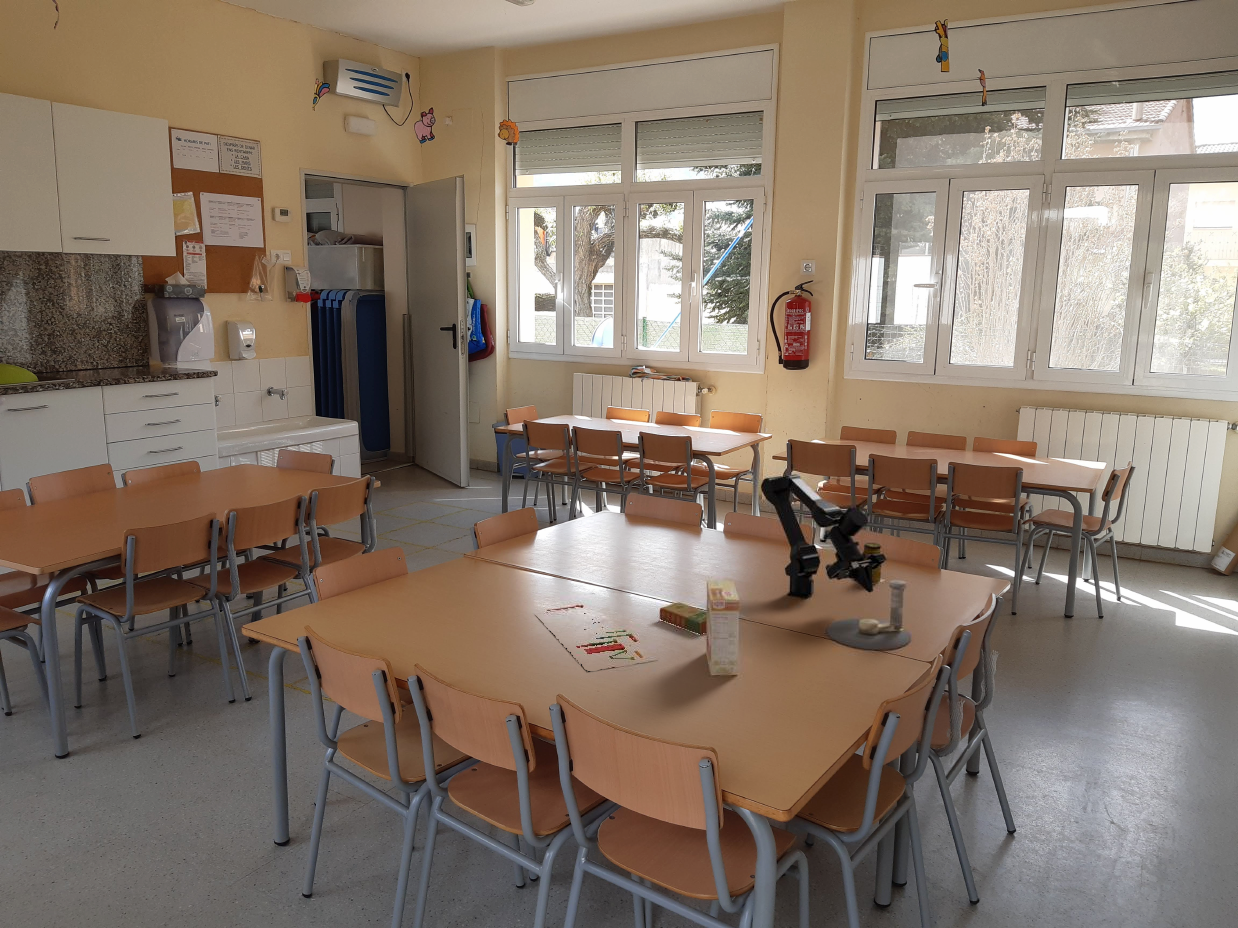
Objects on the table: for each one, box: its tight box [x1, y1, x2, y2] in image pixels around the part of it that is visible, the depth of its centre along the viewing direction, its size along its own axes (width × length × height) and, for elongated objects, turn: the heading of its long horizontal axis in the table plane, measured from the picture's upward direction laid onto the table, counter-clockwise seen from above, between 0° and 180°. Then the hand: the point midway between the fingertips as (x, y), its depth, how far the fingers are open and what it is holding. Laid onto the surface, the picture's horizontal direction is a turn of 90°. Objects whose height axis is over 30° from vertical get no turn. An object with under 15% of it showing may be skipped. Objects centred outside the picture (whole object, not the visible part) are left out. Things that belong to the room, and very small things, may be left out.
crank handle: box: [859, 579, 907, 634], centre depth 242 cm, size 13×5×13 cm, turn 101°
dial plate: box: [826, 617, 912, 651], centre depth 242 cm, size 22×22×1 cm
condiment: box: [852, 542, 887, 585], centre depth 289 cm, size 7×8×12 cm
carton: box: [659, 601, 707, 636], centre depth 251 cm, size 8×16×4 cm, turn 42°
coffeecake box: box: [705, 579, 740, 676], centre depth 222 cm, size 15×7×20 cm, turn 178°
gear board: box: [546, 604, 643, 660], centre depth 243 cm, size 45×2×19 cm
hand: (871, 591), depth 250 cm, fingers closed
